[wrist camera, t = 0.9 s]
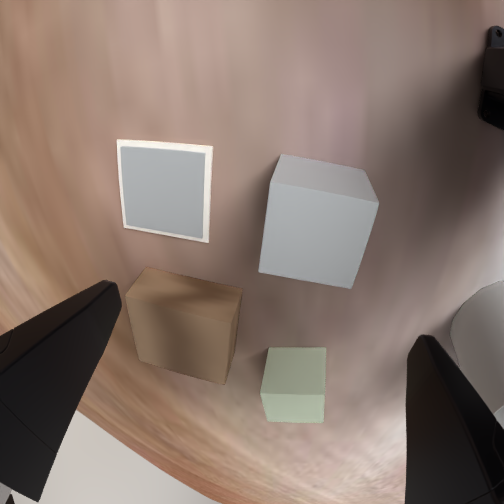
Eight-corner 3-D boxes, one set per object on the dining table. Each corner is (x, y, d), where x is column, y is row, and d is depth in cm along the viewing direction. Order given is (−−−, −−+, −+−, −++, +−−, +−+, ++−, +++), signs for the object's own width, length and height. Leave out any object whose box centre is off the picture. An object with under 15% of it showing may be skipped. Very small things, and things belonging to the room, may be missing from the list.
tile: (213, 146, 18) (211, 148, 18) (209, 241, 22) (207, 244, 22) (118, 139, 19) (115, 140, 19) (125, 226, 23) (122, 228, 22)
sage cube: (326, 346, 26) (324, 394, 22) (325, 379, 28) (323, 422, 24) (269, 346, 27) (259, 393, 23) (275, 378, 30) (267, 421, 25)
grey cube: (364, 169, 17) (379, 203, 13) (345, 240, 20) (351, 288, 16) (281, 153, 18) (270, 181, 14) (270, 227, 21) (258, 272, 16)
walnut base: (243, 286, 24) (231, 323, 21) (234, 350, 28) (224, 385, 25) (147, 264, 25) (125, 295, 21) (155, 330, 29) (139, 360, 26)
